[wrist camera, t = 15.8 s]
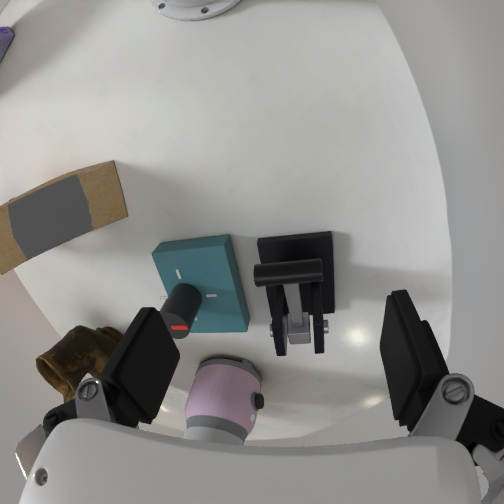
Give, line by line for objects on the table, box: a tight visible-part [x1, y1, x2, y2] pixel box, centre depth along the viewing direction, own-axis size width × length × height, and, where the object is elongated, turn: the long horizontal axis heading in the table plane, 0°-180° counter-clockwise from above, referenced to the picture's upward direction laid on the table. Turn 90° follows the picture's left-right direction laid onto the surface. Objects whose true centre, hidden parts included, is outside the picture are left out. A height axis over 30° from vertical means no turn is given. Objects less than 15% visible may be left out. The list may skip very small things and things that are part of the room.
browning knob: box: [159, 283, 202, 339], centre depth 35 cm, size 4×4×6 cm
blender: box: [183, 359, 264, 445], centre depth 35 cm, size 16×12×32 cm
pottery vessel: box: [36, 325, 123, 403], centre depth 43 cm, size 25×11×20 cm, turn 18°
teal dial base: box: [152, 235, 250, 333], centre depth 38 cm, size 14×11×3 cm
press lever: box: [254, 259, 323, 344], centre depth 25 cm, size 12×5×2 cm, turn 10°
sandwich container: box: [0, 161, 128, 275], centre depth 29 cm, size 9×15×15 cm, turn 97°
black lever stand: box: [257, 231, 335, 356], centre depth 32 cm, size 12×9×12 cm
